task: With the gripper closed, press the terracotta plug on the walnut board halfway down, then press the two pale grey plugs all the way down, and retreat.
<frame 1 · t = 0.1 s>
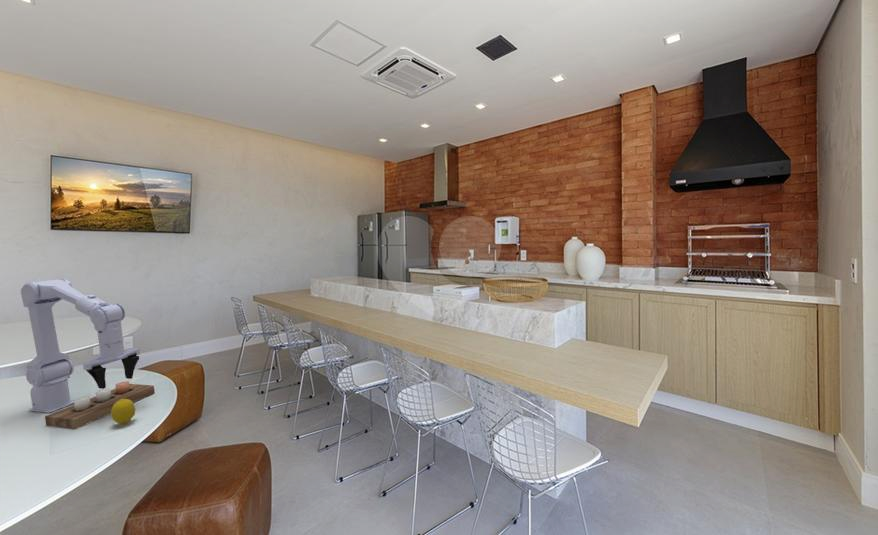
hand: (116, 383, 115), 10 cm above the table, tool pointing down, fingers open, 7 cm apart
lemon: (124, 424, 109), on the table
grey plug middle: (103, 395, 119), point 4 cm above the table, slide at 0.0 cm
walnut board: (105, 408, 119), on the table
terracotta plug: (122, 387, 125), point 4 cm above the table, slide at 0.0 cm
grey plug right: (82, 403, 113), point 4 cm above the table, slide at 0.0 cm
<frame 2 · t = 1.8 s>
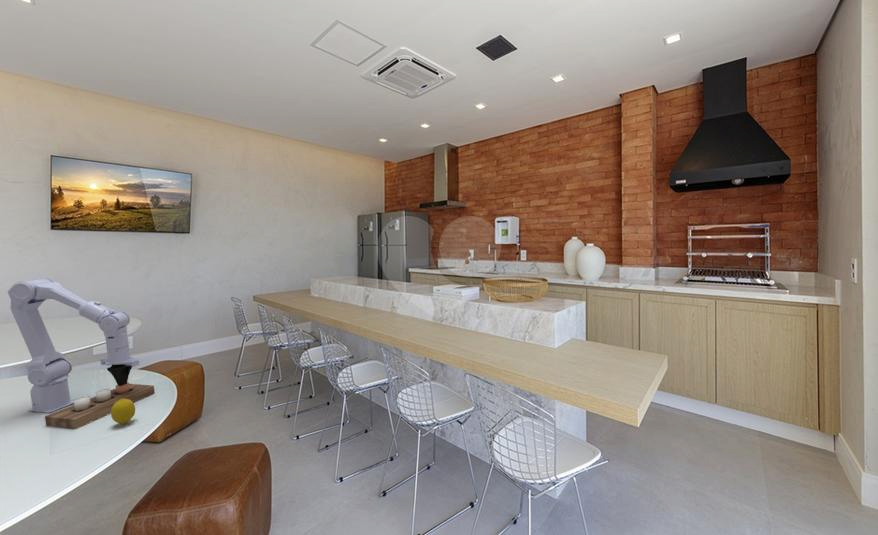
hand: (122, 384, 124), 6 cm above the table, tool pointing down, fingers closed, pressing on terracotta plug
terracotta plug: (122, 388, 125), point 4 cm above the table, slide at 0.4 cm, touching gripper
everything else where it was.
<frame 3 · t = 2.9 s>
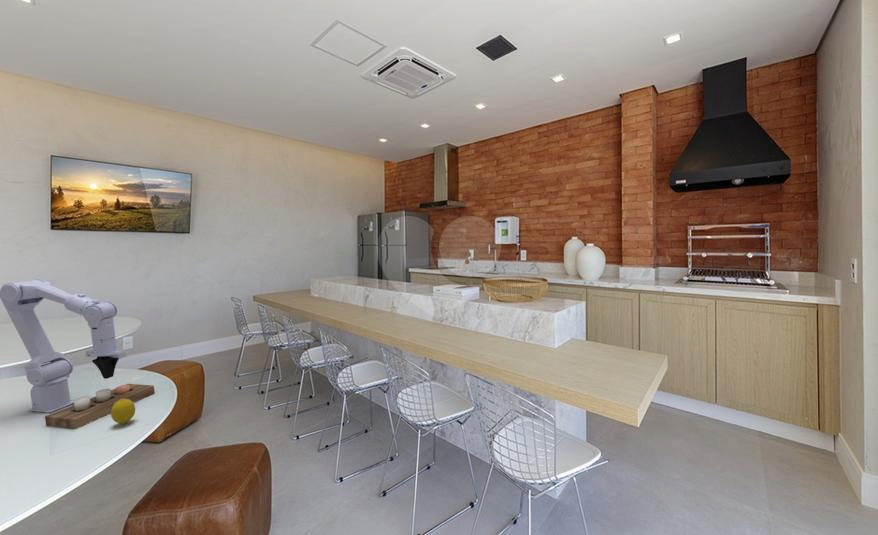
hand: (108, 377, 120), 10 cm above the table, tool pointing down, fingers closed
terracotta plug: (123, 390, 125), point 3 cm above the table, slide at 1.2 cm
everything else where it was.
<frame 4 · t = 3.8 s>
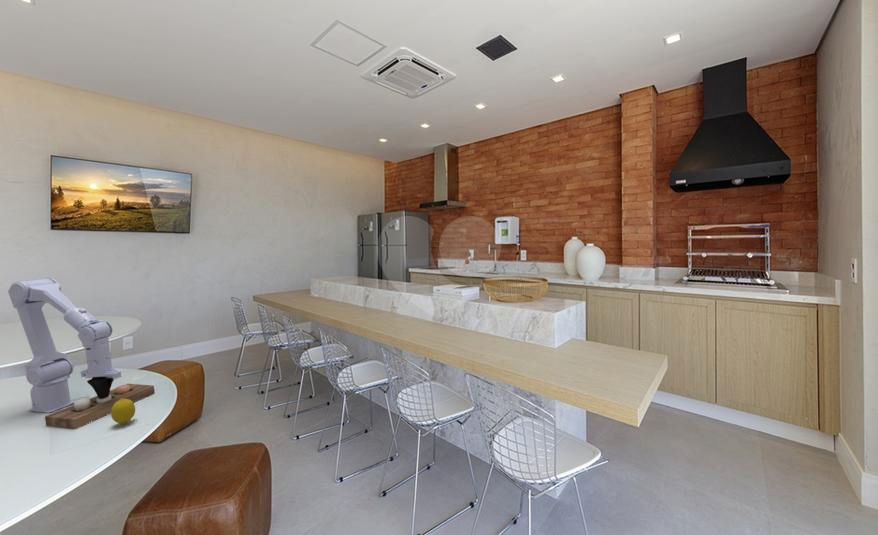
hand: (103, 397, 119), 4 cm above the table, tool pointing down, fingers closed, pressing on grey plug middle
grey plug middle: (104, 401, 119), point 2 cm above the table, slide at 2.3 cm, touching gripper
everything else where it was.
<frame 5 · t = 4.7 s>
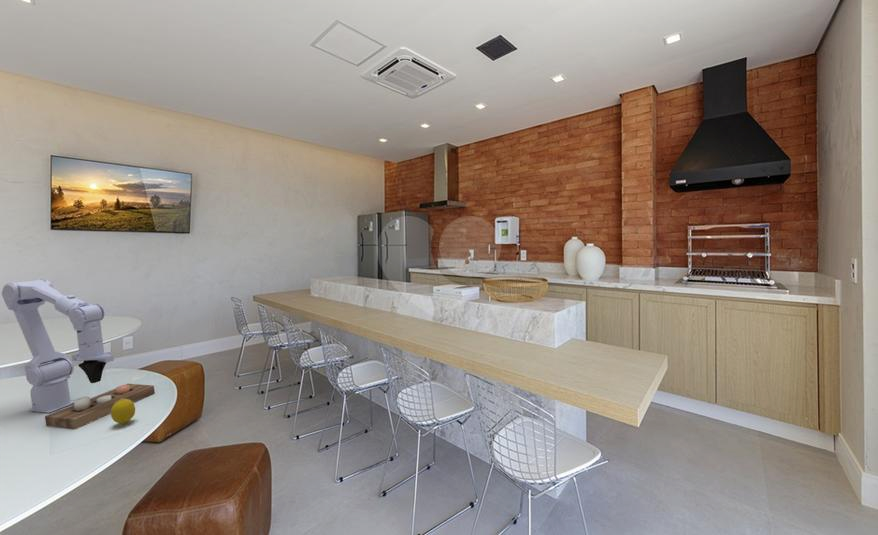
hand: (95, 382, 117), 10 cm above the table, tool pointing down, fingers closed
grey plug middle: (104, 402, 119), point 2 cm above the table, slide at 2.4 cm
everything else where it was.
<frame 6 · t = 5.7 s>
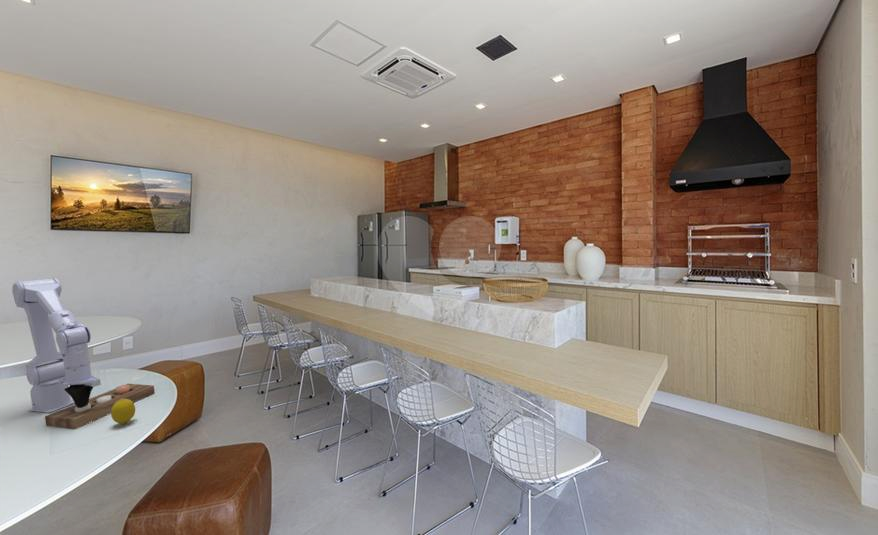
hand: (82, 406, 113), 4 cm above the table, tool pointing down, fingers closed, pressing on grey plug right
grey plug right: (83, 410, 113), point 2 cm above the table, slide at 2.3 cm, touching gripper
everything else where it was.
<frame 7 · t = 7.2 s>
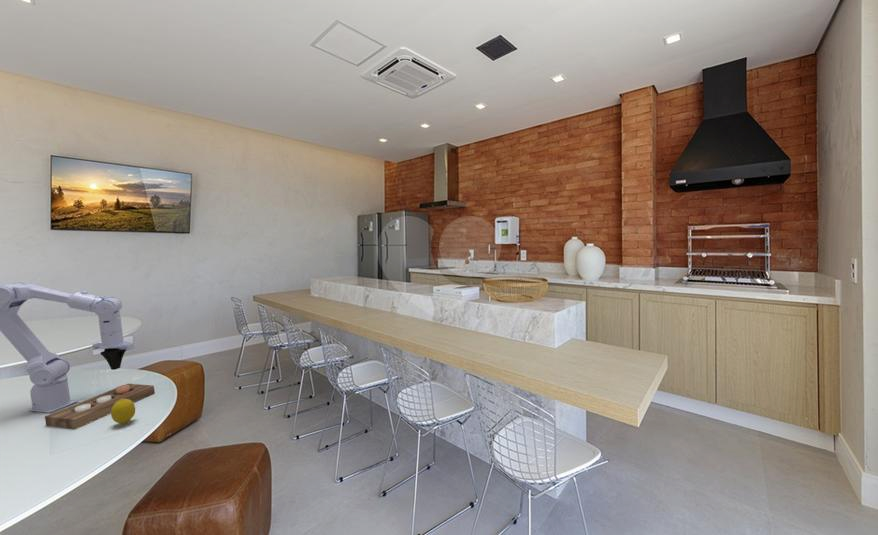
hand: (115, 368, 127), 10 cm above the table, tool pointing down, fingers closed
grey plug right: (83, 410, 113), point 2 cm above the table, slide at 2.4 cm
everything else where it was.
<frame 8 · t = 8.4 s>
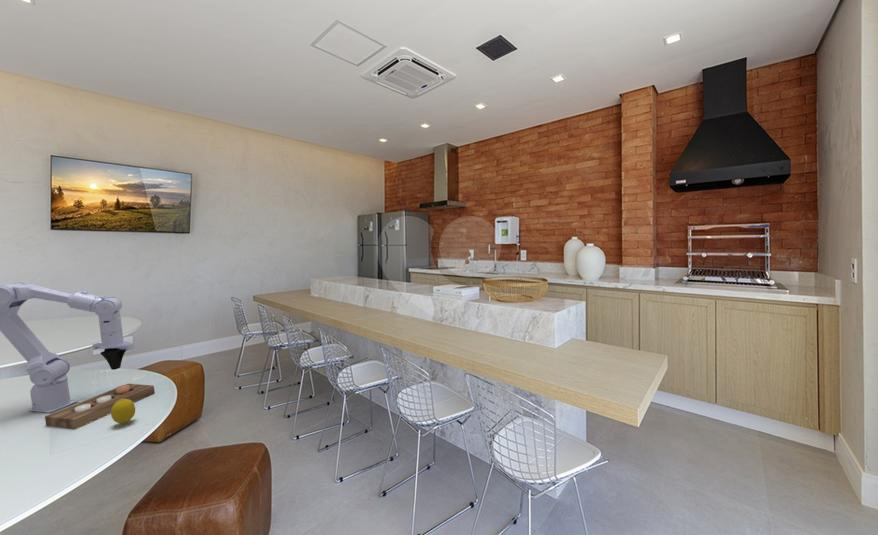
hand: (116, 368, 127), 10 cm above the table, tool pointing down, fingers closed
nothing on the table moved.
at the end: terracotta plug slide at 1.2 cm; grey plug middle slide at 2.4 cm; grey plug right slide at 2.4 cm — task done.
